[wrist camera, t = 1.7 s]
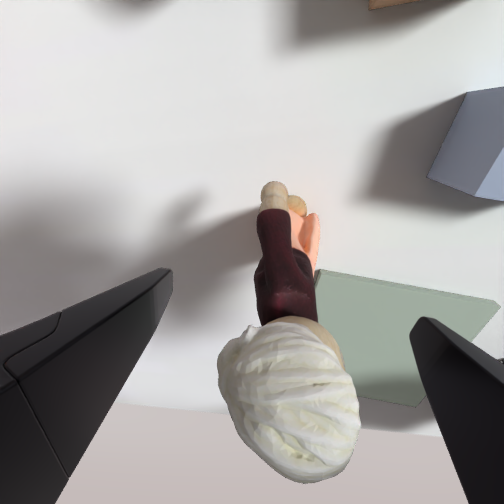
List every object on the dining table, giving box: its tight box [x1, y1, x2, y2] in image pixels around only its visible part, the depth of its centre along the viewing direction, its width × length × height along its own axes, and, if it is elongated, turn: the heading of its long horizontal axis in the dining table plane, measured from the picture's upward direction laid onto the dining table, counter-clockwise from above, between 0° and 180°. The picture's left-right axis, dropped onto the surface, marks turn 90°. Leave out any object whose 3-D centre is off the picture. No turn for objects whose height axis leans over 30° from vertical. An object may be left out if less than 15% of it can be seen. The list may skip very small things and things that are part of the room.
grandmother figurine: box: [217, 181, 361, 484], centre depth 10 cm, size 8×4×13 cm, turn 19°
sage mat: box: [315, 269, 501, 407], centre depth 19 cm, size 12×12×1 cm
